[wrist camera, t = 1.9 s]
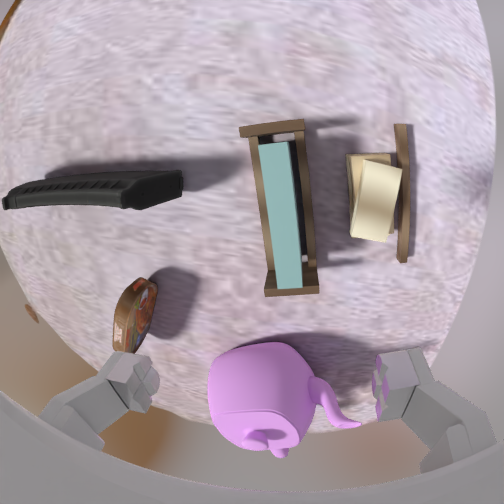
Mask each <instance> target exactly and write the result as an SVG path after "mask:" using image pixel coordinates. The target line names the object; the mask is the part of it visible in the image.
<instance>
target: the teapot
mask: <svg viewBox="0 0 504 504" xmlns="http://www.w3.org/2000/svg"><path fill="white" fill-rule="evenodd" d="M208 402H209V408H210V414H211V418H212V421H213V423H214V425H215V426H216V428H217V429H218V430H219V432H220V433H221V434H222V435H223V436H224V437H225V438H227V439H228V440H229V441H231V442H232V443H233V444H235V445H237V446H239V447H241V448H244V449H248V450H255V451H261V450H271V452H272V453H273V454H274V455H275V456H276V457H278V458H284V457H286V456H287V455H288V451H289V448H290V447H294V446H296V445H298V444H299V443H300V442H301V440H302V439H303V437H304V436H305V434H306V432H307V430H308V428H309V426H310V424H311V422H312V419H313V416H314V413H315V409H316V404H320V405H322V406H323V407H324V409H325V411H326V415H327V418H328V420H329V421H330V423H331V424H332V425H334V426H335V427H338V428H354V427H358V426H361V425H362V423H360V422H357V421H354V420H351V419H348V418H347V417H345V416H344V415H343V414H342V412H341V410H340V408H339V405H338V402H337V399H336V396H335V393H334V391H333V389H332V388H331V386H330V385H329V384H328V383H327V382H326V381H325V380H323V379H321V378H318V377H315V376H314V373H313V371H312V370H311V368H310V366H309V365H308V364H307V362H306V361H305V360H304V359H303V358H302V356H301V355H300V354H299V353H298V352H297V351H296V350H295V349H294V348H292V347H291V346H289V345H287V344H285V343H281V342H267V343H260V344H253V345H248V346H243V347H239V348H236V349H232V350H229V351H227V352H225V353H223V354H222V355H220V356H218V357H217V358H216V359H215V360H214V361H213V363H212V365H211V368H210V371H209V376H208Z"/></svg>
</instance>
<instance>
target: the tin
mask: <svg viewBox="0 0 504 504" xmlns="http://www.w3.org/2000/svg"><path fill="white" fill-rule="evenodd" d="M157 291H158V289H157V285H156V284H155V283H152V282H150V281H148V280H146V279H144V278H141V277H140V278H138V279H136V280H135V281H134V282H133V283H132V284H131V285H130V286H128V287H127V288H126V289H125V290H124V292H123V293H122V295H121V297H120V299H119V301H118V303H117V306H116V309H115V314H114V326H113V349H114V350H115V351H120V352H127V353H133V354H135V353H136V351H137V350H138V348H139V347H140V345H141V344H142V342H143V340H144V338H145V337H146V334H147V332H148V329H149V326H150V322H151V318H152V313H153V309H154V305H155V300H156V296H157Z"/></svg>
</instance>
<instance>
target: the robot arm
mask: <svg viewBox="0 0 504 504" xmlns="http://www.w3.org/2000/svg"><path fill="white" fill-rule="evenodd" d="M375 363H376V367H377V368H376V369H375V370H374V371H373V376H372V391H373V396H374V397H375V398H376V399H377V403H376V406H375V407H376V413H377V418H378V422H381V421H388V420H394V419H400V418H402V420H403V422H404V423H405V424H406V425H407V426H408V427H409V428H410V429H411V430H412V431H413V432H414V433H415V434H416V435H417V436H418V437H419V438H420V439H421V440H422V441H423V442H424V443H425V444H426V445H427V446H428V448H429V449H431V451H430V452H429V453H428V454H427V455H426V456H425V458H424V459H423V460H422V461H421V462H420V471H421V474H419V475H415V476H412V477H408V478H404V479H400V480H396V481H391V482H386V483H382V484H376V485H371V486H365V487H357V488H350V489H341V490H330V491H314V492H274V491H257V490H246V489H237V488H229V487H222V486H216V485H210V484H205V483H199V482H194V481H190V480H186V479H181V478H177V477H173V476H169V475H166V474H162V473H159V472H155V471H152V470H149V469H146V468H143V467H140V466H137V465H134V464H131V463H129V462H126V461H123V460H121V459H118V458H115V457H113V456H111V455H108V454H106V453H104V452H101V450H102V448H103V446H104V441H103V440H102V439H101V438H100V437H99V436H98V434H99V433H100V432H101V431H103V430H104V429H105V428H107V427H108V426H110V425H111V424H112V423H113V422H115V421H116V420H117V419H119V418H120V417H121V416H123V415H124V414H125V413H126V412H128V411H129V410H133V411H138V412H142V413H146V412H147V410H148V408H149V406H150V404H151V403H152V398H151V396H152V395H154V394H155V393H157V391H158V389H159V385H160V378H159V374H158V372H157V371H156V370H155V369H154V368H153V367H152V361H151V359H150V357H149V356H145V355H139V354H133V353H127V352H120V351H116V352H114V353H113V354H112V355H111V357H110V358H109V359H108V361H107V362H106V363H105V365H104V366H103V367H102V369H101V370H100V371H99V373H98V374H97V375H96V377H94V376H92V377H90V378H89V379H87V380H85V381H83V382H81V383H79V384H77V385H75V386H73V387H72V388H70V389H68V390H66V391H64V392H62V393H60V394H58V395H56V396H54V397H53V398H52V399H51V400H50V401H49V403H48V404H47V405H46V407H45V408H44V410H43V411H42V412H41V414H40V415H39V417H37V416H35V415H33V414H32V413H31V412H29V411H27V410H26V409H25V408H23V407H22V406H21V405H19V404H18V403H16V402H15V401H14V400H12V399H11V398H10V397H8V396H7V395H6V394H5V393H3V392H2V391H1V390H0V504H504V440H502V441H500V442H498V443H497V441H496V438H495V436H494V433H493V430H492V427H491V425H490V422H489V419H488V417H487V414H486V412H484V411H483V410H481V409H480V408H478V407H477V406H475V405H474V404H472V403H471V402H470V401H468V400H467V399H465V398H464V397H462V396H461V395H459V394H458V393H456V392H455V391H453V390H452V389H450V388H449V387H447V386H446V385H444V384H443V383H441V382H440V381H435V380H434V378H433V375H432V373H431V370H430V368H429V366H428V363H427V361H426V359H425V357H424V354H423V352H422V350H421V349H420V348H419V347H417V348H412V349H407V350H401V351H395V352H389V353H383V354H378V355H377V357H376V362H375ZM128 409H129V410H128Z"/></svg>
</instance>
